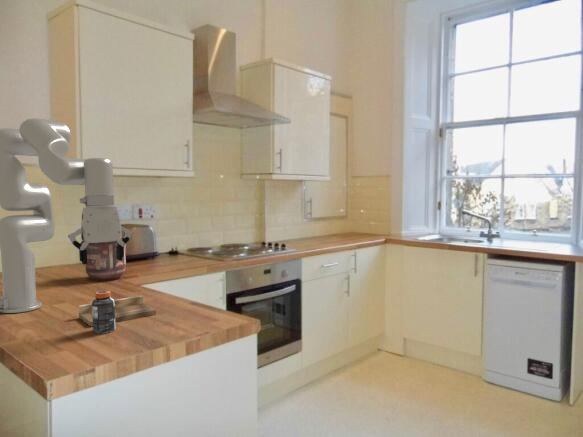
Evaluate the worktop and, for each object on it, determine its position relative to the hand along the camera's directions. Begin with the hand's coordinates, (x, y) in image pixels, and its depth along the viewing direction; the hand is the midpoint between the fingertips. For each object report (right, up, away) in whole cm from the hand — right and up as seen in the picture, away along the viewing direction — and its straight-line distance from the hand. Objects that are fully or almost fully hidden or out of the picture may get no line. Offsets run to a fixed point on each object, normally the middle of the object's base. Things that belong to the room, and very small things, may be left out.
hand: (102, 261), depth 129 cm
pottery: (-29, -15, +74) cm, 81 cm away
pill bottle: (+1, -20, 0) cm, 20 cm away
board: (-1, -19, +14) cm, 23 cm away
